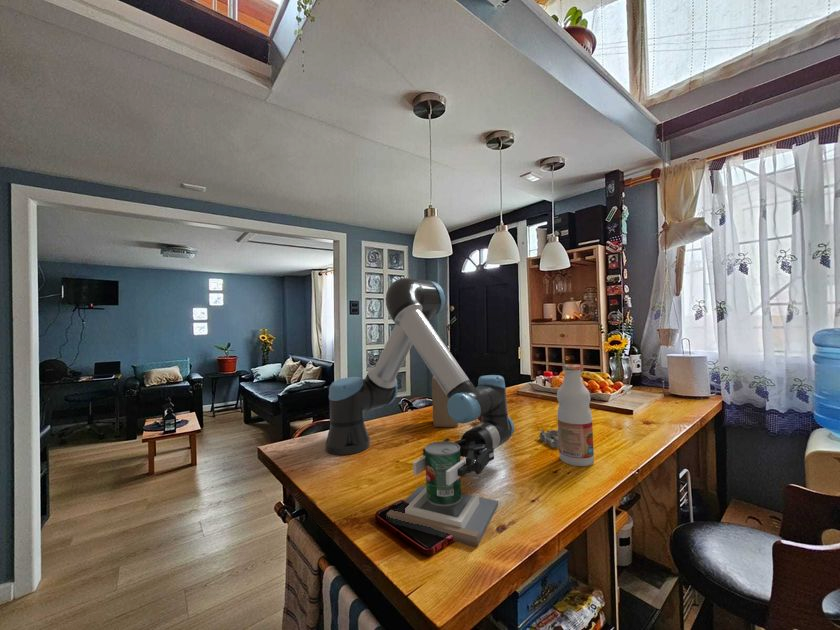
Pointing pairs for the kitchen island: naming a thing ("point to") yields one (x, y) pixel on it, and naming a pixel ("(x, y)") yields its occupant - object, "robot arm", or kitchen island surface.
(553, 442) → the egg carton
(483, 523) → the board
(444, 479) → the canned tomato
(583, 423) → the fruit juice
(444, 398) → the wooden block
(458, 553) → the kitchen island surface
